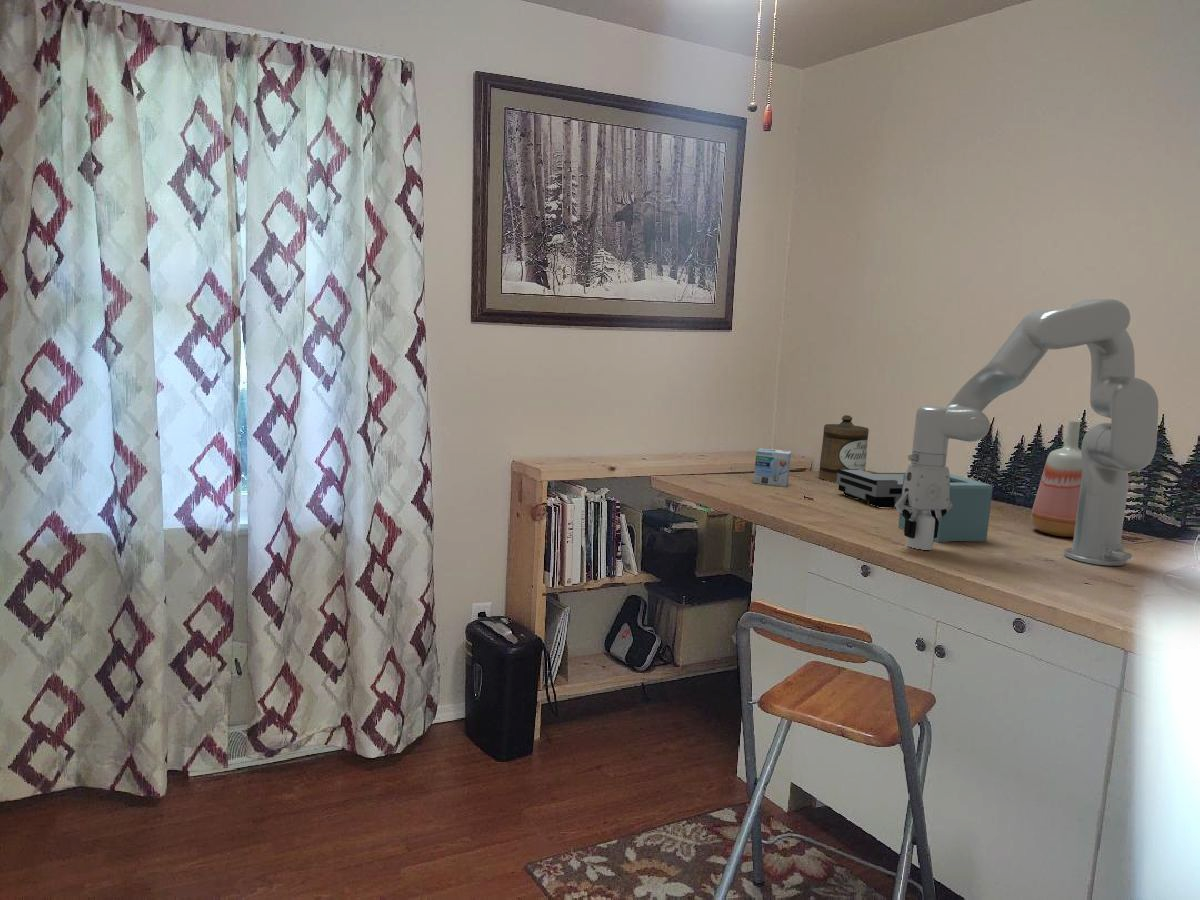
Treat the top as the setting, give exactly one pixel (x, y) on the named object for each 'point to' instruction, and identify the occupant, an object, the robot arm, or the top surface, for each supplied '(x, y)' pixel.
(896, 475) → the game console
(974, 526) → the drop box
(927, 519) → the eye dropper bottle
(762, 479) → the light bulb box
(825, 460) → the wooden container
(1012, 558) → the top surface
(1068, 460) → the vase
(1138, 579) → the top surface
